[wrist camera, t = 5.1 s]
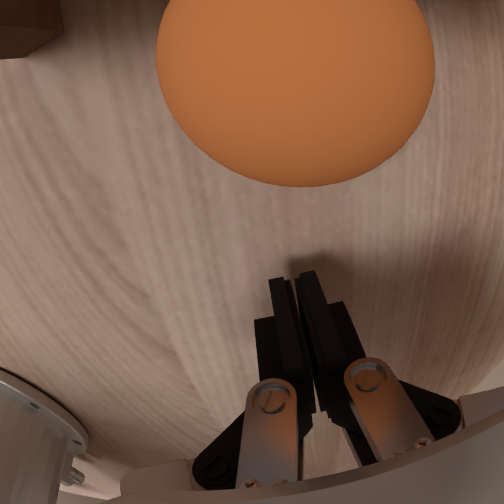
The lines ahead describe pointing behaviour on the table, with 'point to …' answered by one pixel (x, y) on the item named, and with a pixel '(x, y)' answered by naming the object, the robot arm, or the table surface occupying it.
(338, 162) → the ball
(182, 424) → the table surface
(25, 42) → the bridge
